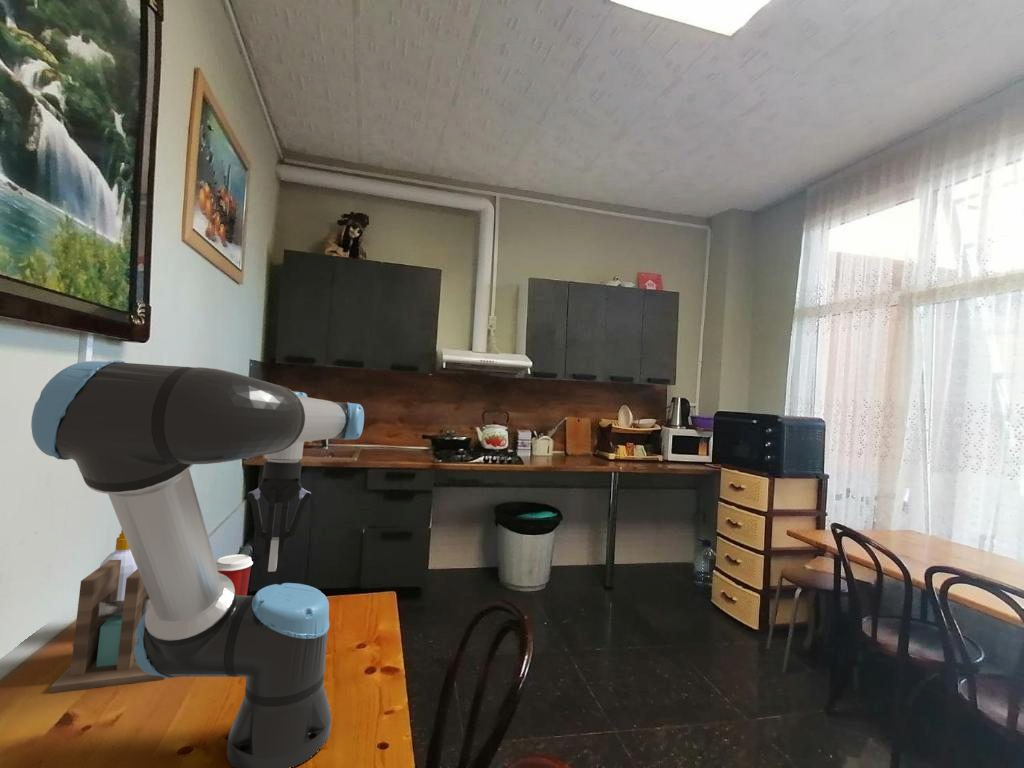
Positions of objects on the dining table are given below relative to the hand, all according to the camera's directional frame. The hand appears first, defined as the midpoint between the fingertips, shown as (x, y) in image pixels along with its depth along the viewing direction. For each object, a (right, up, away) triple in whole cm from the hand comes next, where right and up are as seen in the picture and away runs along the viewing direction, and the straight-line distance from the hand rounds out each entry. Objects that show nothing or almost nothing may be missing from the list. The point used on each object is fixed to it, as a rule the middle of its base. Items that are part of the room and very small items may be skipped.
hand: (272, 569), depth 101 cm
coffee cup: (-17, -18, +12) cm, 27 cm away
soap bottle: (-38, -16, +5) cm, 41 cm away
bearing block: (-26, -16, -7) cm, 31 cm away
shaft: (-23, -8, -5) cm, 25 cm away
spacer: (-28, -14, -7) cm, 32 cm away
